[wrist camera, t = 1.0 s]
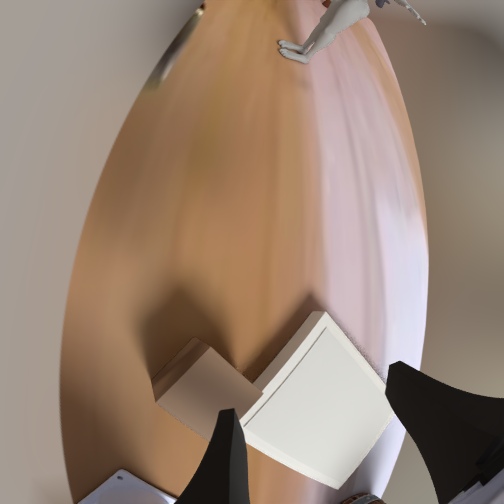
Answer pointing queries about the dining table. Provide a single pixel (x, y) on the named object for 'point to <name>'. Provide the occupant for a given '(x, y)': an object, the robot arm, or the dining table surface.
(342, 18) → the figurine
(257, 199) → the dining table surface
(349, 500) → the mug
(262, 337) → the dining table surface
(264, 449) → the white tray
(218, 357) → the walnut block
